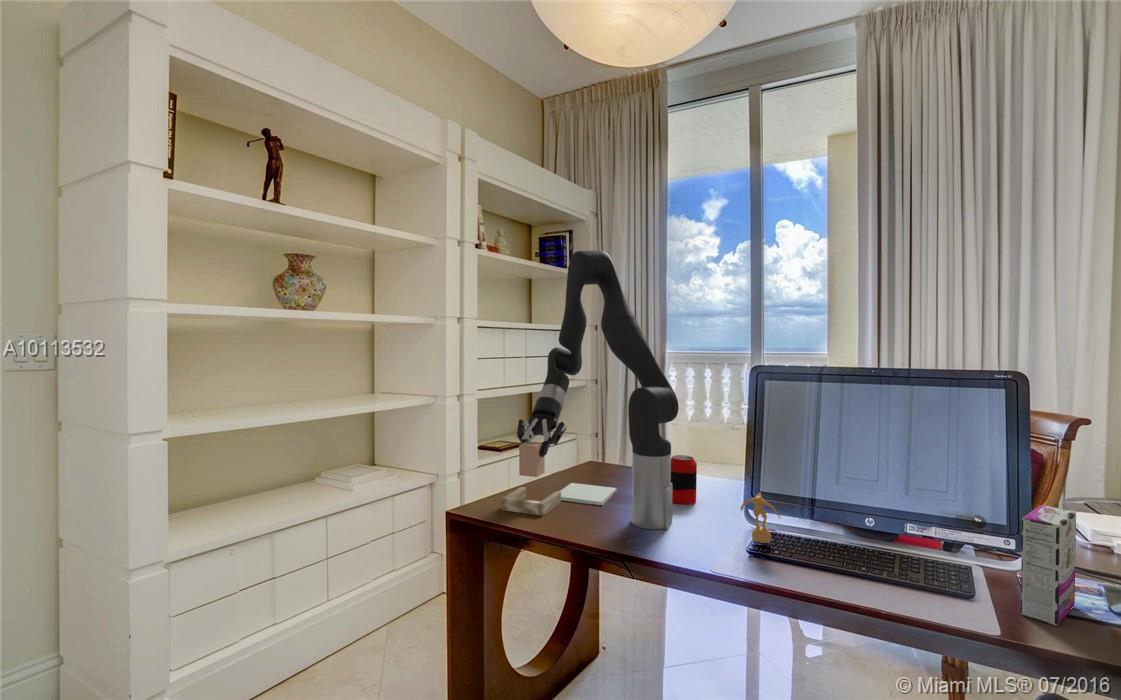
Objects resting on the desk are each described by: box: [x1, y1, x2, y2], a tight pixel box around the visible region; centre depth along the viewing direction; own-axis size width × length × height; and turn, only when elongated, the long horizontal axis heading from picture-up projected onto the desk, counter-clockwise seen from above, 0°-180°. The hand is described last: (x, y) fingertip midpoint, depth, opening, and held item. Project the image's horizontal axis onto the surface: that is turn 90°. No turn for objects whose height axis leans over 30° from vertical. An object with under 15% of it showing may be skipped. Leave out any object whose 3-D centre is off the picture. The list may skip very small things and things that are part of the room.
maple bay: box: [500, 486, 562, 517], centre depth 142 cm, size 12×12×3 cm
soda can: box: [671, 454, 698, 506], centre depth 148 cm, size 8×8×12 cm
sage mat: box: [559, 482, 618, 506], centre depth 152 cm, size 14×14×1 cm
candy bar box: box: [1020, 504, 1077, 627], centre depth 89 cm, size 11×5×16 cm, turn 126°
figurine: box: [740, 492, 781, 544], centre depth 116 cm, size 8×6×12 cm
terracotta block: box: [518, 441, 546, 478], centre depth 142 cm, size 5×5×8 cm
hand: (531, 454), depth 141 cm, fingers closed on terracotta block, 5 cm apart
